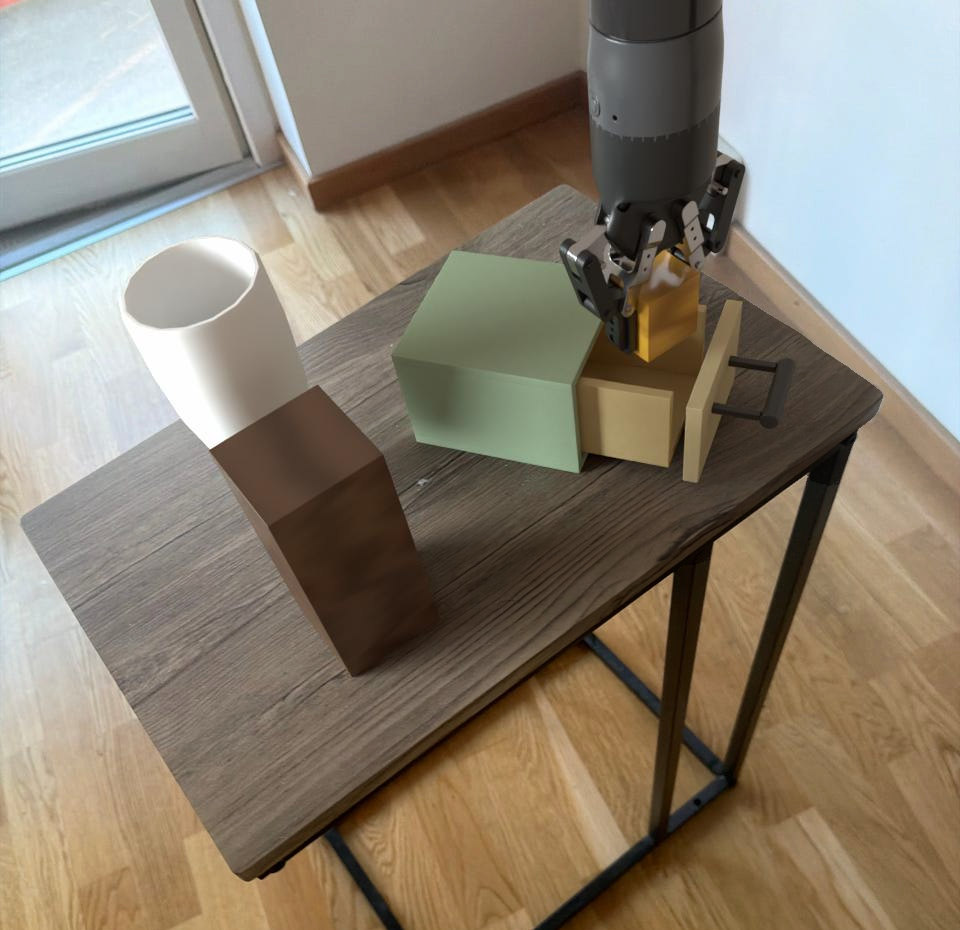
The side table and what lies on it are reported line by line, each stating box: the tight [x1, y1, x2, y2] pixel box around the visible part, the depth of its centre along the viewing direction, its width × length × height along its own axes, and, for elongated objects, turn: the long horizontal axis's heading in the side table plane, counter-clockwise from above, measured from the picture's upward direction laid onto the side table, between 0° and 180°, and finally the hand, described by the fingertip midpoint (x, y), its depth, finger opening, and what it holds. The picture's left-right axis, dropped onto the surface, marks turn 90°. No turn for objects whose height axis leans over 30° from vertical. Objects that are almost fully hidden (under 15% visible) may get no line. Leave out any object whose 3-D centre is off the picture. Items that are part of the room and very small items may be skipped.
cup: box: [119, 235, 310, 449], centre depth 69 cm, size 10×10×22 cm
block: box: [619, 249, 701, 363], centre depth 66 cm, size 5×5×5 cm
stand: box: [208, 384, 441, 678], centre depth 63 cm, size 8×8×18 cm
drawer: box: [576, 299, 797, 484], centre depth 72 cm, size 18×11×8 cm, turn 68°
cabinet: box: [390, 249, 605, 474], centre depth 76 cm, size 15×13×10 cm
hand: (652, 328), depth 68 cm, fingers closed on block, 4 cm apart
